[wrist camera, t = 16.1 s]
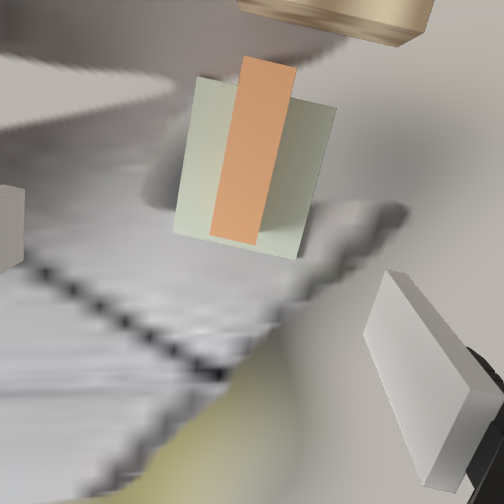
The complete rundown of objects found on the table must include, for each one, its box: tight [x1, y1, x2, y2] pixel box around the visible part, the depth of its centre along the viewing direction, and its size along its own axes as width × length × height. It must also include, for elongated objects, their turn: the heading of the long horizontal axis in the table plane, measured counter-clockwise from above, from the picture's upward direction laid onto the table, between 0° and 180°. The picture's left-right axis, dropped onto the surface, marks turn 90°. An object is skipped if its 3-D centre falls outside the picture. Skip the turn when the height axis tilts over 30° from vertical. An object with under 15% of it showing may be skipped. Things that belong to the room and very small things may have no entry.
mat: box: [173, 76, 337, 260], centre depth 37 cm, size 12×14×1 cm
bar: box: [209, 56, 297, 245], centre depth 34 cm, size 4×14×4 cm, turn 168°
